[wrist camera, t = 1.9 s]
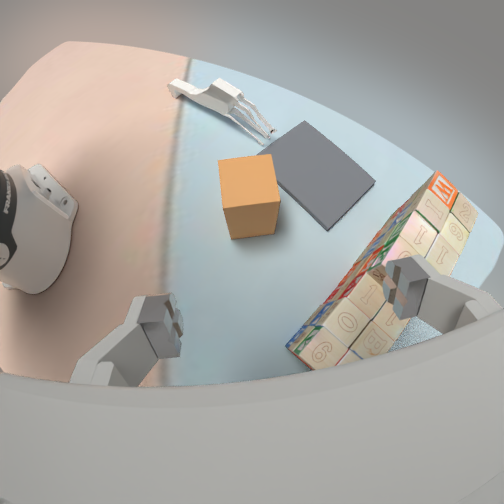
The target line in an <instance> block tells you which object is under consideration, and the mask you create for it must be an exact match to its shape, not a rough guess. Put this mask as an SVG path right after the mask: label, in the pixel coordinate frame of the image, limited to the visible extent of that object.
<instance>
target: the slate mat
mask: <svg viewBox="0 0 504 504" xmlns="http://www.w3.org/2000/svg"><path fill="white" fill-rule="evenodd" d="M265 154H271V156H272V161H273V166H274V170H275V175H276V180H277V184H278V185H279V186H280V187H281V188H283V189H284V190H285V191H286V192H287V193H288V194H289V195H290V196H291V197H292V198H293V199H294V200H295V201H296V202H297V203H299V204H300V205H301V206H302V207H303V208H304V209H305V210H306V211H307V212H308V213H309V214H310V215H311V216H312V217H313V218H314V219H315V220H316V221H317V222H318V223H319V224H320V225H321V226H322V227H323V228H324V229H325V230H326V231H327V230H328V229H329V228H330V227H331V226H332V225H333V224H334V223H335V222H336V221H337V220H339V219H340V218H341V217H342V216H343V215H344V214H345V213H346V212H347V211H348V210H349V209H350V208H351V207H352V206H353V205H354V203H355V202H356V201H357V200H358V199H359V198H360V197H361V196H362V195H363V194H364V193H365V192H366V191H367V190H368V189H369V188H370V187H371V186H372V185H373V184H374V183H375V182H376V181H375V180H374V179H373V178H372V177H371V176H370V175H369V174H368V173H367V172H366V171H365V170H363V169H362V168H361V167H360V166H359V165H358V164H357V163H356V162H355V161H353V160H352V159H351V158H350V157H349V156H348V155H347V154H345V153H344V152H343V151H342V150H341V149H340V148H338V147H337V146H336V145H335V144H334V143H332V142H331V141H330V140H329V139H328V138H326V137H325V136H324V135H323V134H321V133H320V132H319V131H318V130H316V129H315V128H314V127H312V126H311V125H310V124H309V123H307V122H306V121H305V120H304V121H303V122H302V123H300V124H299V125H297V126H296V127H294V128H293V129H291V130H290V131H289V132H287V133H286V134H284V135H283V136H282V137H280V138H279V139H277V140H276V141H275V142H273V143H272V144H271V145H269V146H268V147H266V148H265V149H264V150H262V151H261V152H260V153H258V154H257V155H265Z"/></svg>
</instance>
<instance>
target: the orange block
mask: <svg viewBox="0 0 504 504" xmlns="http://www.w3.org/2000/svg"><path fill="white" fill-rule="evenodd" d="M218 166H219V176H220V185H221V195H222V205H223V211H224V214H225V218H226V222H227V226H228V229H229V233H230V237H231V239H239V238H246V237H254V236H261V235H269V234H274V232H275V227H276V222H277V217H278V212H279V206H280V195H279V190H278V185H277V180H276V175H275V170H274V166H273V161H272V156H271V154H265V155H256V156H247V157H239V158H232V159H224V160H218Z"/></svg>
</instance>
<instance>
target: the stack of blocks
mask: <svg viewBox="0 0 504 504" xmlns="http://www.w3.org/2000/svg"><path fill="white" fill-rule="evenodd" d="M477 215H478V212H477V211H476V210H475V208H474V207H473V206H472V205H471V204H470V203H469V202H468V200H467V199H466V198H465V197H464V196H463V195H462V194H461V193H458V190H457V189H456V188H455V187H454V186H453V185H452V184H451V183H450V182H449V181H448V180H447V179H446V178H445V177H444V176H443V175H442V174H441V173H440V172H439V171H436V172H435V173H434V174H433V175H432V176H431V177H430V178H429V179H428V180H427V181H426V182H425V183H424V184H423V185H422V186H421V187H420V188H419V189H418V190H417V191H416V192H415V193H414V194H413V195H412V196H411V197H410V199H408V200H407V201H406V202H405V203H404V204H403V205H402V206H401V207H399V208H398V209H397V210H396V211H395V212H394V213H393V214H392V215H391V216H390V217H389V219H388V220H387V222H386V223H385V224H384V226H383V227H382V228H381V230H380V231H378V233H377V234H376V235H375V237H374V238H373V240H372V241H371V242H370V244H369V245H368V246H367V248H366V249H365V250H364V251H363V252H362V254H361V255H360V256H359V258H358V259H357V260H356V262H355V263H354V264H353V267H352V268H351V269H350V271H349V272H348V273H347V275H346V276H345V277H344V278H343V280H342V281H341V282H340V283H339V285H338V287H337V288H336V289H335V290H334V291H333V292H332V294H331V295H330V296H329V297H328V299H327V300H326V301H325V302H324V303H323V304H322V305H320V306H319V307H318V309H317V310H316V311H315V312H314V313H313V314H312V316H311V317H310V318H309V319H308V320H307V321H306V322H305V324H304V325H303V326H302V328H301V329H300V330H299V331H298V332H297V333H296V334H295V335H294V336H293V337H292V339H291V340H290V341H289V342H288V343H287V344H286V345H285V347H286V348H288V349H289V350H290V351H291V352H292V353H293V354H294V355H295V356H297V357H298V358H299V359H300V360H301V361H302V362H303V363H304V364H306V365H307V366H308V367H309V368H310V369H312V370H318V369H323V368H328V367H333V366H337V365H342V364H346V363H350V362H354V361H358V360H362V359H366V358H370V357H374V356H377V355H381V354H385V353H387V352H388V351H389V349H390V348H391V347H392V345H393V344H394V342H395V341H396V340H397V339H398V337H399V336H400V334H401V333H402V331H403V330H404V328H405V326H406V325H407V323H408V322H409V320H410V318H407V319H403V320H399V319H398V317H397V316H396V314H395V313H394V311H393V310H392V309H393V305H392V304H390V303H388V302H387V300H386V299H385V297H384V294H383V287H382V286H383V279H384V278H385V277H386V276H387V273H386V271H385V267H386V263H387V261H390V260H395V259H401V258H406V257H409V256H413V255H418V254H419V255H422V256H423V257H424V258H425V259H426V260H427V261H428V262H429V263H430V264H431V265H432V266H433V267H434V268H435V269H436V270H437V272H438V273H439V274H440V275H443V274H444V275H446V276H450V275H451V273H452V270H453V268H454V266H455V264H456V262H457V260H458V257H459V256H460V255H461V253H462V250H463V248H464V246H465V244H466V241H467V239H468V236H469V233H470V232H471V230H472V228H473V225H474V223H475V220H476V218H477Z"/></svg>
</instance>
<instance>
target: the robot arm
mask: <svg viewBox="0 0 504 504" xmlns="http://www.w3.org/2000/svg"><path fill="white" fill-rule="evenodd" d="M66 203H67V204H66ZM77 209H78V203H77V201H76V200H75V199H74V198H73V197H72V196H71V195H70V194H69V193H68V192H67V191H66V190H65V189H64V188H63V187H62V186H61V185H60V184H59V183H58V182H57V180H56V179H55V178H54V177H53V176H52V175H51V174H50V173H49V172H48V171H47V170H46V169H45V168H44V167H43V166H42V165H41V164H37V165H34V166H33V167H31V168H29V169H28V170H26V169H25V168H24V167H22V166H21V165H14V166H12V167H10V168H9V169H8V170H6V171H5V172H4V171H2V170H0V282H2V284H3V286H4V287H5V288H8V289H15V288H18V289H20V290H22V291H23V292H25V293H29V294H36V293H40V292H42V291H44V290H45V289H47V288H48V287H49V286H50V285H51V284H52V283H53V282H54V281H55V280H56V278H57V277H58V275H59V274H60V272H61V270H62V268H63V266H64V264H65V261H66V259H67V255H68V252H69V247H70V241H71V227H72V223H73V220H74V218H75V215H76V212H77ZM385 271H386V273H387V276H386V277H385V278H384V279H383V286H382V287H383V294H384V297H385V299H386V300H387V302H388V303H390V304H392V305H393V309H392V310H393V311H394V313H395V314H396V316H397V317H398V319H399V320H403V319H407V318H411V317H415V316H417V317H418V318H420V319H421V320H423V321H424V322H426V323H427V324H429V325H430V326H432V327H433V328H435V329H436V330H438V331H439V332H441V333H442V335H440V336H437V337H434V338H432V339H429V340H426V341H423V342H420V343H417V344H414V345H411V346H408V347H405V348H401V349H398V350H395V351H391V352H388V353H385V354H381V355H377V356H374V357H370V358H366V359H362V360H358V361H354V362H350V363H346V364H342V365H337V366H333V367H328V368H323V369H318V370H313V371H308V372H303V373H297V374H291V375H285V376H279V377H272V378H265V379H258V380H250V381H241V382H232V383H221V384H209V385H193V386H169V387H137V386H138V385H139V384H140V383H141V381H142V380H143V379H144V377H145V376H146V375H147V374H148V372H149V371H150V370H151V369H152V367H153V366H154V365H155V363H156V362H157V361H158V359H161V358H173V357H180V350H181V341H180V339H179V338H180V337H181V336H182V335H183V319H182V315H181V312H180V310H178V309H177V308H176V303H177V301H176V298H175V296H174V294H173V293H164V294H153V295H143V296H136V297H134V298H133V301H132V303H131V306H130V308H129V311H128V313H127V316H126V318H125V321H124V324H123V325H119V326H118V327H117V328H115V329H114V330H113V331H112V332H111V333H109V334H108V335H107V336H106V337H105V338H103V339H102V340H101V341H100V342H99V343H97V344H96V345H95V346H94V347H93V348H92V349H90V350H89V351H88V352H87V353H86V354H85V355H83V356H82V357H81V358H80V359H79V360H78V361H77V364H76V366H75V369H74V371H73V374H72V376H71V379H70V382H69V383H66V382H58V381H50V380H43V379H36V378H30V377H24V376H19V375H14V374H9V373H0V504H504V308H502V307H501V306H500V305H499V304H498V303H497V302H496V300H494V298H493V297H492V296H491V295H490V294H489V293H487V292H485V291H483V290H480V289H478V288H476V287H473V286H471V285H468V284H466V283H464V282H461V281H459V280H456V279H454V278H451V277H449V276H446V275H444V274H443V275H440V274H439V273H438V272H437V270H436V269H435V268H434V267H433V266H432V265H431V264H430V263H429V262H428V261H427V260H426V259H425V258H424V257H423V256H422V255H419V254H418V255H413V256H409V257H406V258H401V259H395V260H390V261H387V263H386V267H385Z"/></svg>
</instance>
